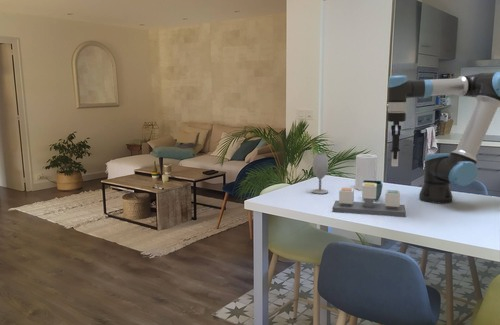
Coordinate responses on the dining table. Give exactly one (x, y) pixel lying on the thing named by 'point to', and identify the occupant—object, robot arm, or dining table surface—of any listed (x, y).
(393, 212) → the keypad
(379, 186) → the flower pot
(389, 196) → the key teal
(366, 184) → the key mustard
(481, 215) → the dining table surface
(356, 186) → the cup
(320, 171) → the wineglass
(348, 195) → the key terracotta
